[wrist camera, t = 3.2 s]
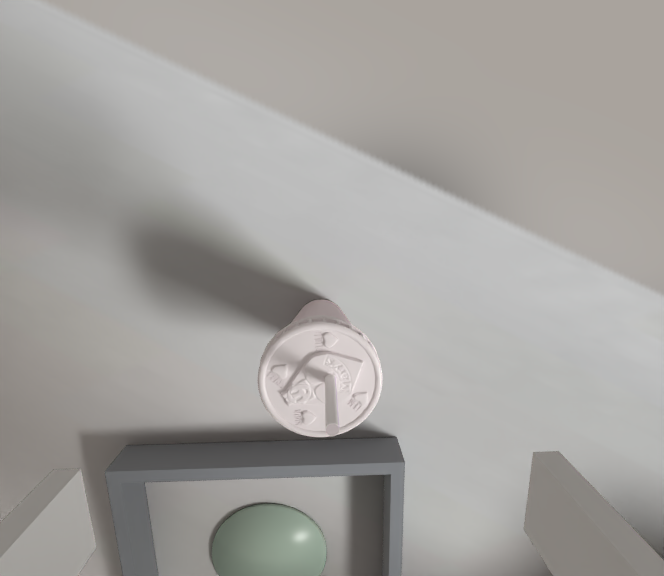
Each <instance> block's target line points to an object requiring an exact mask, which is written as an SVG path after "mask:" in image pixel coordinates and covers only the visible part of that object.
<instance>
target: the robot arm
mask: <svg viewBox="0 0 664 576" xmlns="http://www.w3.org/2000/svg"><path fill="white" fill-rule="evenodd" d="M524 530H525V532H526V534H527V535H528V537H529V538H530V540H531V542H532V543H533V545H534V546H535V548H536V550H537V551H538V553H539V554H540V556H541V558H542V559H543V561H544V562H545V564H546V566H547V567H548V569H549V570H550V572H551V574H552V575H553V576H664V560H663V559H662V558H661V557H660V556H659V555H658V554H657V553H656V552H655V551H654V549H653V548H652V547H651V546H650V545H649V544H648V543H647V542H646V541H645V540H644V539H643V538H642V537H641V536H640V535H639V534H638V533H637V532H636V531H635V530H634V529H633V528H632V527H631V526H630V525H629V524H628V523H627V522H626V520H625V519H624V518H623V517H622V516H621V515H620V514H619V513H618V512H617V511H616V510H615V509H614V508H613V507H612V506H611V505H610V504H609V503H608V502H607V501H606V500H605V499H604V498H603V497H602V496H601V495H600V494H599V493H598V491H597V490H596V489H595V488H594V487H593V486H592V485H591V484H590V483H589V482H588V481H587V480H586V479H585V478H584V477H583V476H582V475H581V474H580V473H579V472H578V471H577V470H576V469H575V468H574V467H573V466H572V465H571V464H570V462H569V461H568V460H567V459H566V458H565V457H564V456H563V455H562V454H561V453H560V452H559V451H553V452H533V458H532V466H531V474H530V482H529V490H528V498H527V506H526V514H525V522H524ZM95 549H96V542H95V537H94V532H93V527H92V522H91V517H90V512H89V507H88V502H87V497H86V492H85V487H84V482H83V477H82V472H81V469H58V470H53V471H52V472H51V473H50V474H49V475H48V476H47V477H46V478H45V479H44V480H43V481H42V482H41V483H40V484H39V485H38V486H37V487H36V488H35V489H34V490H33V491H32V492H31V493H30V494H29V495H28V496H27V497H26V498H25V499H24V500H23V501H22V502H21V503H20V504H19V505H18V506H17V507H15V508H14V509H13V510H12V511H11V512H10V513H9V514H8V515H7V516H6V517H5V518H4V519H3V520H2V521H1V522H0V576H78V575H79V573H80V572H81V570H82V569H83V567H84V566H85V564H86V563H87V561H88V560H89V558H90V556H91V555H92V553H93V552H94V550H95Z"/></svg>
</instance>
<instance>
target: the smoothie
mask: <svg viewBox="0 0 664 576" xmlns="http://www.w3.org/2000/svg"><path fill="white" fill-rule="evenodd" d="M258 388H259V393H260V396H261V399H262V402H263V404H264V406H265V408H266V409H267V411H268V412H269V413H270V415H271V416H272V417H273V418H274V419H275V420H276V421H277V422H278V423H280V424H281V425H282V426H284V427H285V428H287V429H289V430H291V431H293V432H295V433H298V434H301V435H305V436H310V437H329V436H336V435H339V434H342V433H344V432H347V431H349V430H351V429H353V428H355V427H356V426H358V425H359V424H360V423H362V422H363V421H364V420H365V419H366V418H367V417H368V416H369V415H370V413H371V412H372V411H373V409H374V408H375V406H376V404H377V402H378V400H379V397H380V394H381V390H382V369H381V365H380V360H379V357H378V354H377V351H376V349H375V347H374V346H373V344H372V343H371V341H370V340H369V338H368V337H367V336H366V335H365V334H364V333H363V332H361V331H360V330H359V329H358V328H357V327H355V326H354V325H352V324H351V322H350V321H349V320H348V318H347V317H346V316H345V314H344V313H343V311H342V310H341V309H340V307H339V306H338V305H336V304H335V303H333V302H331V301H329V300H324V299H319V300H314V301H311V302H309V303H307V304H306V305H305V306H304V307H303V308H302V309H301V310H300V312H299V313H298V314H297V316H296V317H295V318H294V320H293V321H292V322H291V323H290V324H289V325H288V326H286V327H285V328H283V329H282V330H280V331H279V332H277V334H276V335H275V336H274V337H273V338H272V339H271V341H270V342H269V343H268V344H267V346H266V349H265V351H264V353H263V355H262V357H261V363H260V367H259V372H258Z"/></svg>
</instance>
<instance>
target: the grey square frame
mask: <svg viewBox="0 0 664 576" xmlns="http://www.w3.org/2000/svg"><path fill="white" fill-rule="evenodd" d="M404 473H405V461H404V458H403V455H402V452H401V449H400V446H399V443H398V440H397V437H391V438H358V439H325V440H292V441H259V442H226V443H192V444H159V445H126V447H125V448H124V449H123V450H122V451H121V453H120V454H119V455H118V456H117V457H116V459H115V460H114V461H113V462H112V464H111V465H110V466H109V467H108V468H107V470H106V471H105V476H106V482H107V488H108V493H109V499H110V505H111V510H112V516H113V522H114V527H115V533H116V539H117V544H118V550H119V556H120V562H121V567H122V573H123V576H158V570H157V563H156V556H155V550H154V543H153V536H152V530H151V523H150V516H149V510H148V503H147V496H146V490H145V483H144V482H170V481H201V480H232V479H263V478H294V477H325V476H356V475H384V507H383V565H382V576H401V569H402V537H403V505H404ZM326 553H327V550H326V542H325V538H324V536H323V534H322V531H321V530H320V528H319V527H318V525H317V524H316V523H315V522H314V521H313V520H312V519H311V518H310V517H309V516H307V515H306V514H304V513H303V512H301V511H299V510H297V509H294V508H292V507H289V506H285V505H280V504H258V505H253V506H250V507H246V508H244V509H242V510H239V511H237V512H236V513H234V514H233V515H231V516H230V517H229V518H228V519H226V520H225V521H224V523H223V524H222V525H221V526H220V528H219V529H218V531H217V533H216V535H215V538H214V541H213V544H212V561H213V565H214V567H215V570H216V572H217V573H218V575H219V576H320V574H321V573H322V571H323V568H324V566H325V562H326Z"/></svg>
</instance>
